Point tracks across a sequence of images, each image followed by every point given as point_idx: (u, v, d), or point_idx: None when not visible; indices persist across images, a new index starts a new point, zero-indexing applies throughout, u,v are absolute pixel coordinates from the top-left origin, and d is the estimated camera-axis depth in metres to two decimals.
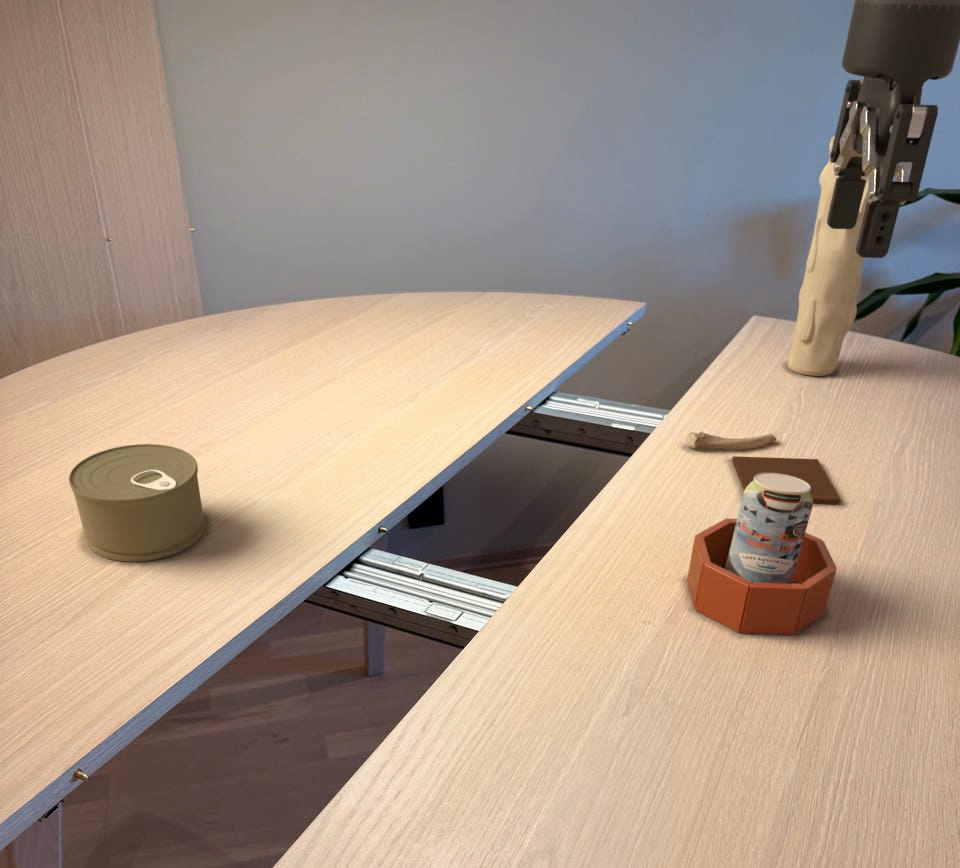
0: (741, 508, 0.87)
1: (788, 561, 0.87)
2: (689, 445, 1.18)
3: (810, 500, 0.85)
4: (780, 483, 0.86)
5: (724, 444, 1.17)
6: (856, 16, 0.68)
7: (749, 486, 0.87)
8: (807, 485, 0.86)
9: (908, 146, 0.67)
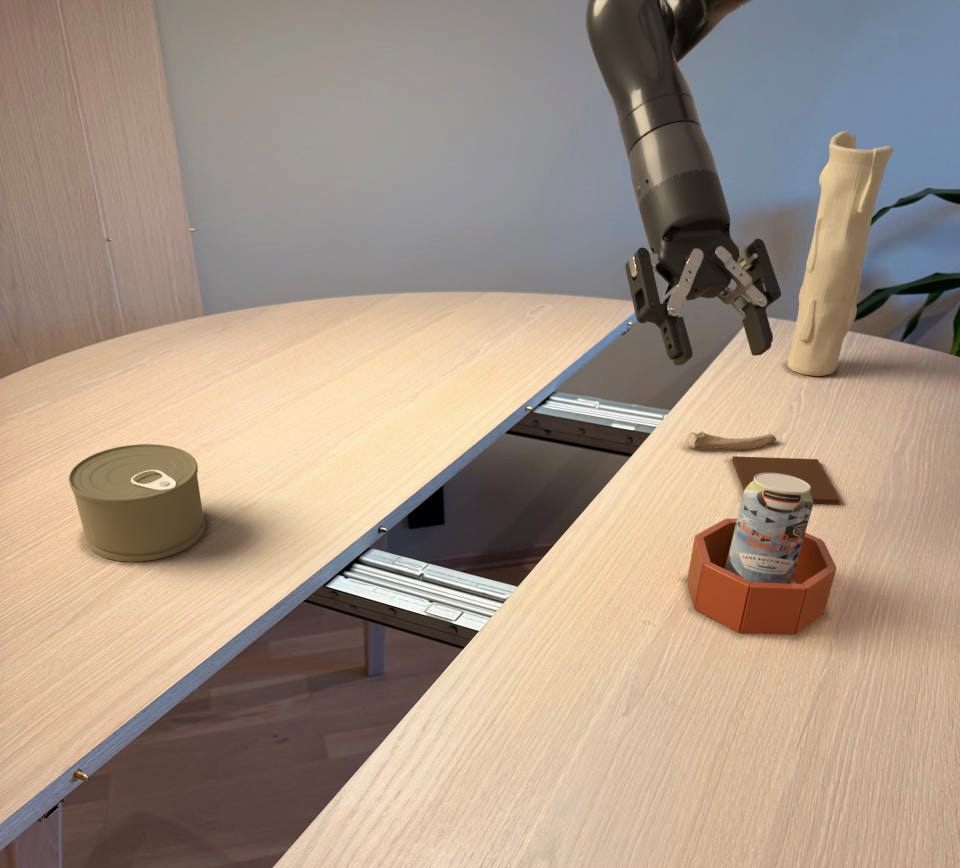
0: (741, 508, 0.87)
1: (788, 561, 0.87)
2: (689, 445, 1.18)
3: (810, 500, 0.85)
4: (780, 483, 0.86)
5: (724, 444, 1.17)
6: None
7: (749, 486, 0.87)
8: (807, 485, 0.86)
9: (634, 282, 0.88)
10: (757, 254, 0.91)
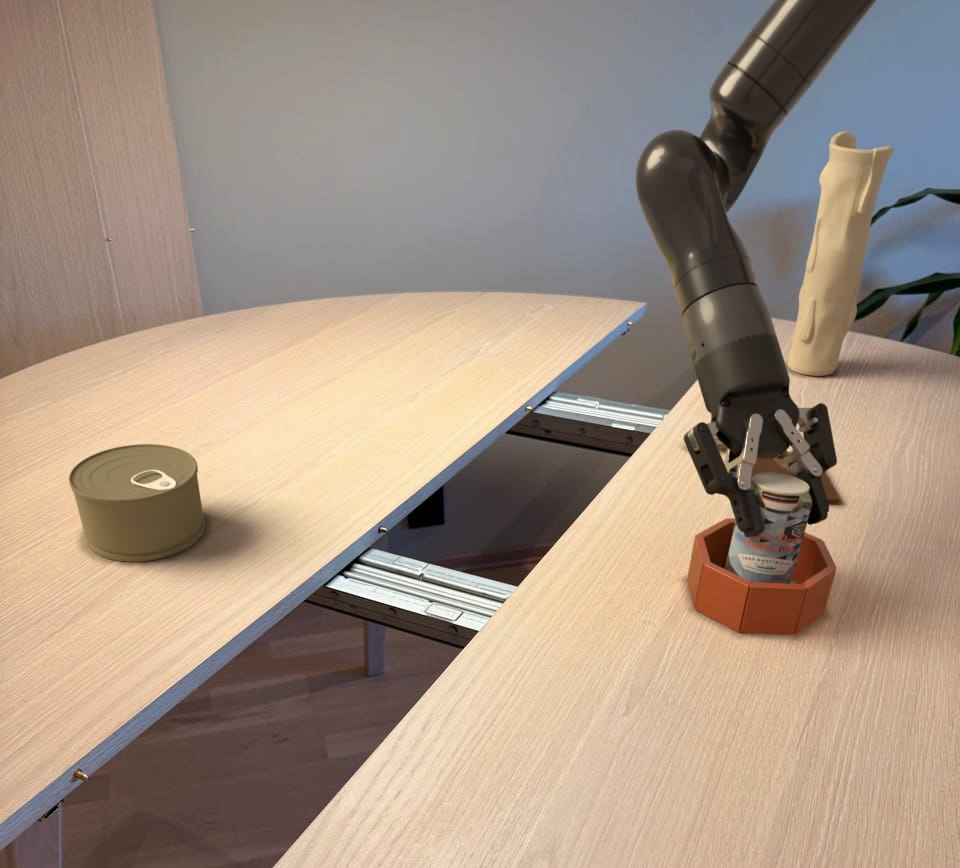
0: None
1: (787, 561, 0.87)
2: None
3: (809, 500, 0.85)
4: (778, 483, 0.86)
5: (723, 444, 1.17)
6: None
7: None
8: (806, 485, 0.86)
9: (697, 456, 0.85)
10: (818, 419, 0.88)
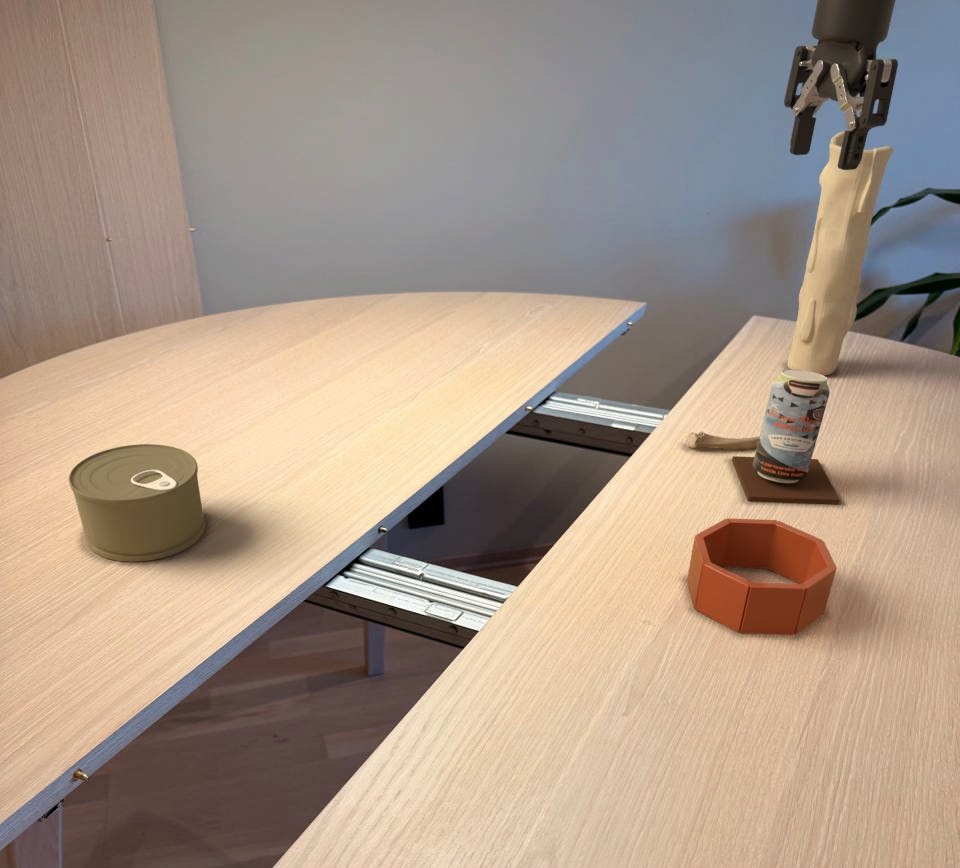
0: (770, 397, 1.06)
1: (808, 440, 1.06)
2: (689, 445, 1.18)
3: (827, 389, 1.04)
4: (802, 376, 1.05)
5: (724, 444, 1.17)
6: (828, 0, 0.98)
7: (777, 379, 1.06)
8: (824, 377, 1.05)
9: (881, 88, 0.98)
10: None
